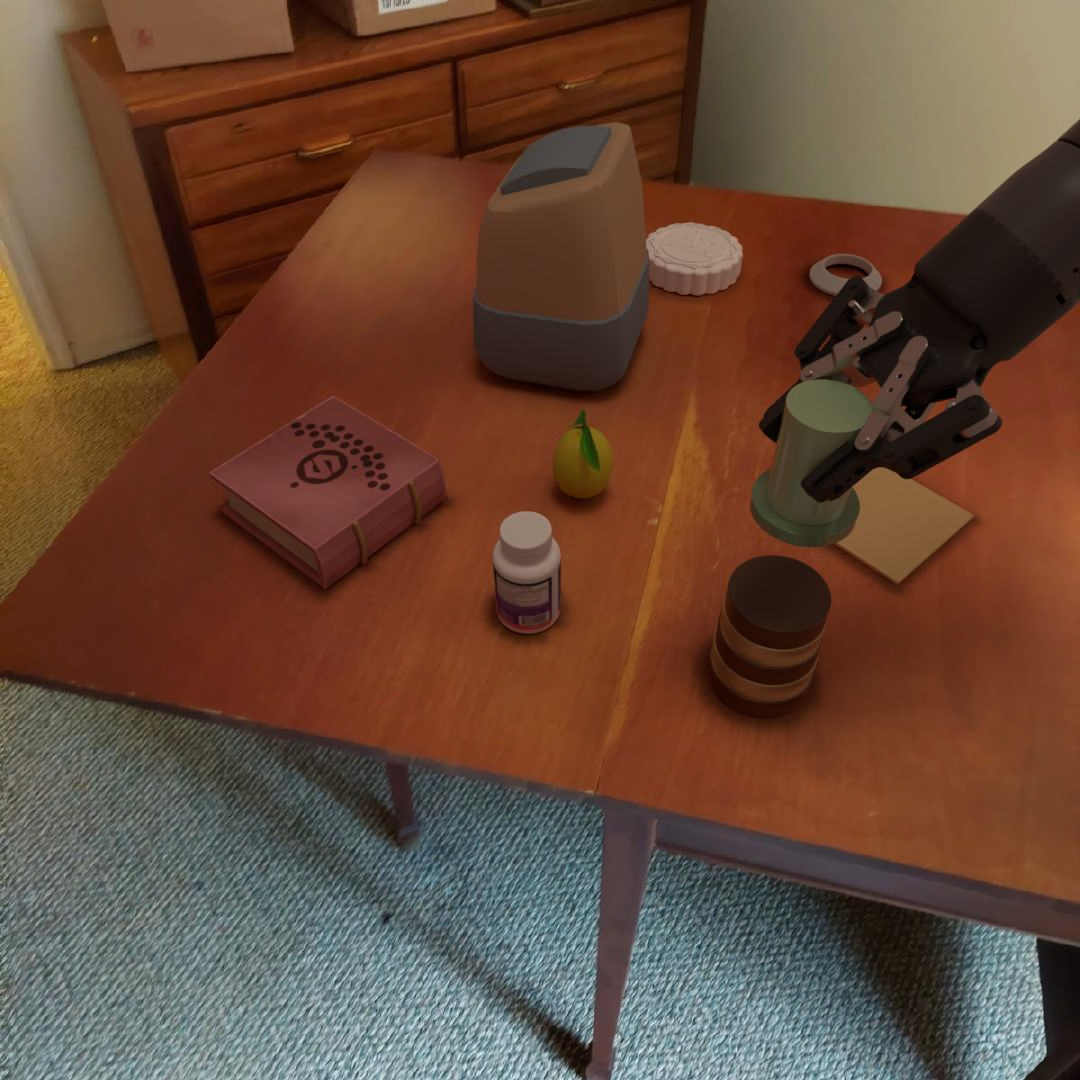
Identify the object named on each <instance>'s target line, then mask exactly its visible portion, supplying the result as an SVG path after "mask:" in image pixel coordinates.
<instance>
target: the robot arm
mask: <svg viewBox="0 0 1080 1080" xmlns="http://www.w3.org/2000/svg"><path fill="white" fill-rule="evenodd" d="M862 278H863V277H862V276H859V275H854V276H852V277H850V278H848V279H849V280H848V281H847V282H846V283H845V285H844V286H843V287H842V289H841V290H840V291H839V292H838V294H837V295H836V296H834V297H833V299H832V300H831V301H830V303H829V304H828V305H827V307H826V308H825V309H824V310H823V311H822V313H821V314H820V315H819V317H818V318H817V319H816V321H815V322H814V323H813V325H812V326H811V327H810V328H809V329H808V331H807V332H806V333H805V335H804V336H803V337H802V338H801V340H800V341H799V342H798V344H797V345H796V346H795V348H794V351H793V352H794V356H795V358H796V359H798V362H799V365H800V370H801V371H800V373H799V378H798V380H797V381H796V382H795V383H794V384H792V386H791V387H790V388H788V389H787V390H786V391H785V392H783V393H782V395H780V397H779V398H777V399H776V400H775V401H774V402H773V403H772V404H771V405H769V407H767V409H766V411H764V414H763V415H762V417H763V418H762V419H761V420H759V422H758V428H759V429H760V431H761V433H762V434H763V435H764V436H765V437H767V438H768V439H770V441H772V442H773V443H775V444H776V443H777V438H778V434H779V429H780V424H781V420H782V415H783V411H784V406H785V401H786V397H787V394H788V393H789V391H790V390H791V389H792V388H793V387H795V386H796V385H798V384H800V383H802V382H805V381H810V380H817V379H826V380H835V381H839V382H843V383H846V384H849V385H851V386H853V387H855V388H865V387H867V386H869V385H872V384H874V383H877V385H878V386H879V387H880V390H879V391H878V393H877V394H876V396H875V398H874V399H873V401H872V402H871V403H872V409H873V410H872V413H871V415H870V416H869V418H868V419H867V421H866V422H865V424H864V425H863V427H862V429H861V430H860V432H859V433H858V435H857V436H856V438H855V441H854V444H853V445H852V444H851V443H850V442H849V441H847V442H845V443H844V444H843V445H842V446H840V447H839V448H838V449H837V450H836V451H835V452H833V453H832V454H831V455H830V456H829V457H828V458H827V459H825V460H824V461H823V462H822V463H821V464H820V465H818V466H817V467H816V468H815V469H814V470H813V471H812V472H810V473H809V474H808V475H807V476H806V477H805V478H803V480H802V481H801V486H802V488H803V489H804V491H805V492H806V493H807V494H808V495H809V496H810V497H812V498H813V499H815V500H816V501H817V502H819V503H822V502H825V501H827V500H829V501H833V500H835V499H838V498H840V497H841V496H842V495H843V494H844V493H845V492H846V491H848V490H849V489H850V488H851V487H852V486H854V485H855V484H856V483H857V482H859V481H860V480H861V479H862V478H863V477H865V476H866V475H867V474H868V473H869V472H871V471H872V470H873V469H875V468H879V467H883V468H887V469H889V470H891V471H893V472H895V473H897V474H898V475H899V476H900V477H902V478H903V479H913V478H915V477H917V476H919V475H921V474H923V473H924V472H926V471H928V470H930V469H932V468H934V467H935V466H937V465H939V464H941V463H943V462H945V461H947V460H948V459H950V458H953V457H954V456H956V455H957V454H959V453H961V452H963V451H964V450H967V449H968V448H970V447H972V446H974V445H976V444H978V443H979V442H981V441H983V440H985V439H986V438H989V437H990V436H993V435H994V434H995V433H997V432H999V430H1000V429H1001V428H1002V425H1003V419H1002V418H1001V416H1000V415H999V414H998V412H997V411H996V410H995V408H994V407H993V406H992V405H991V404H990V403H989V401H988V400H987V398H986V396H985V395H984V392H983V391H982V388H981V387H982V385H983V384H984V382H985V381H986V378H987V376H988V375H989V373H990V371H991V370H992V369H993V368H994V367H995V366H996V365H997V364H999V363H1001V362H1007V361H1010V360H1012V359H1013V358H1014V357H1016V356H1017V355H1018V354H1020V352H1022V351H1023V350H1024V349H1025V348H1026V347H1028V346H1029V345H1030V344H1031V343H1032V342H1034V341H1035V340H1036V339H1037V338H1038V337H1040V336H1041V335H1042V334H1043V333H1044V332H1046V331H1047V330H1049V328H1051V327H1052V326H1053V325H1054V324H1055V323H1057V322H1058V321H1059V320H1060V319H1061V318H1063V317H1064V316H1065V315H1066V314H1067V313H1068V312H1070V311H1071V310H1072V309H1073V308H1074V307H1076V305H1078V304H1080V118H1078V120H1076V121H1075V122H1074V123H1073V124H1072V125H1071V126H1069V128H1067V129H1066V131H1064V132H1063V133H1061V135H1060V136H1059V137H1058V138H1057V140H1056V141H1053V143H1051V144H1050V145H1049V146H1048V147H1046V148H1045V149H1044V150H1043V151H1041V152H1040V153H1039V154H1037V155H1036V156H1034V157H1033V158H1032V159H1030V160H1029V161H1028V162H1026V163H1025V164H1023V165H1022V166H1021V167H1019V168H1018V169H1017V170H1016V171H1014V173H1012V174H1011V175H1010V176H1009V177H1008V178H1006V179H1005V180H1004V181H1003V182H1002V183H1001V184H1000V185H999V186H998V187H997V188H996V189H995V190H993V191H992V192H991V193H990V194H989V195H988V196H987V197H986V198H985V199H984V200H982V201H981V202H980V203H979V204H978V205H977V206H976V207H975V208H974V209H973V210H972V211H970V213H968V214H967V215H966V216H965V217H964V218H963V219H962V220H960V222H958V223H957V224H956V225H955V226H954V227H953V228H952V229H951V230H950V231H949V232H948V233H947V234H946V235H944V237H942V238H941V239H939V241H938V242H936V244H935V245H933V247H931V248H930V249H929V250H928V251H927V252H926V253H925V254H924V255H923V256H922V257H921V258H920V259H919V260H918V261H916V263H915V265H914V267H913V274H912V277H911V278H910V279H909V281H907V282H906V283H905V284H904V285H902V286H900V287H898V288H895V289H893V290H891V291H889V292H887V293H886V294H884V293H882V292H880V291H879V290H878V291H876V290H874V289H872V288H871V287H870V286H869V285H868V284H867V283H866V282H865V281H864V280H863V279H862ZM865 326H868V327H866V328H864V327H865ZM863 328H864V329H863ZM828 338H829V339H828ZM827 339H828V340H827ZM824 343H825V344H824ZM823 344H824V345H823ZM821 347H822V348H821ZM820 348H821V349H820ZM944 401H946V402H945V405H944V406H945V408H944V410H943V411H941V412H940V413H938V414H935V416H933V417H931V418H929V419H927V418H928V417H929V415H930V414H931V412H932V411H933V409H934V408H935V406H936V405H937V403H939V402H944ZM903 407H905V409H904V408H903Z"/></svg>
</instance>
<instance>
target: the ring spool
mask: <svg viewBox="0 0 1080 1080" xmlns="http://www.w3.org/2000/svg"><path fill="white" fill-rule="evenodd" d="M872 403H873V402H872V401H871V399H870V398H869V396H867V394H866V393H864V392H863V391H861V390H860V389H858V387H853V386H851V385H849V384H846V383H843V382H839V381H835V380H826V379H817V380H810V381H805V382H802V383H800V384H798V385H796V386H795V387H793V388H792V389H791V390H790V391H789V393H788V394H787V397H786V401H785V406H784V411H783V415H782V420H781V424H780V429H779V434H778V438H777V443H775V448H774V451H773V452H774V453H773V457H772V461H771V466H770V468H769V469H767V470H765V471H763V472H762V473H761V474H759V476H758V477H757V478H756V479H755V481H754V483H753V485H752V488H751V491H750V496H749V497H750V498H749V510H750V514H751V515H752V518H753V520H754V521H755V523H756V524H757V525H758V527H760V529H762V530H763V531H764V532H765V533H766V534H768V535H770V537H772V538H774V539H776V540H778V541H781V542H783V543H786V544H789V545H791V546H792V545H793V546H795V547H803V548H821V547H823V548H824V547H827V546H831V545H834V544H835V543H837V542H839V541H841V540H843V539H844V538H846V537H847V536H848V535H849V534H850V533H851V532H852V530H853V529H854V527H855V525H856V522H857V519H858V516H859V512H860V502H859V498H858V495H857V494H856V492H855V490H854V489H853V487H851V488H850V489H849V490H848V491H846V492H845V493H844V494H843V495H842V496H841V497H840V498H838V499H835V500H833V501H829V500H827V501H825V502H822V503H819V502H817V501H816V500H815V499H813V498H812V497H810V496H809V495H808V494H807V493H806V492H805V491H804V489H803V488H802V486H801V481H802V480H803V478H805V477H806V476H807V475H808V474H809V473H810V472H812V471H813V470H814V469H815V468H816V467H817V466H818V465H820V464H821V463H822V462H823V461H824V460H825V459H827V458H828V457H829V456H830V455H831V454H832V453H833V452H835V451H836V450H837V449H838V448H839V447H840V446H842V445H843V444H844V443H845V442H847V441H849V442H850V443H851V444H852V445H853V444H854V441H855V438H856V436H857V435H858V433H859V432H860V430H861V429H862V427H863V425H864V424H865V422H866V421H867V419H868V418H869V416H870V415H871V413H872V410H873V409H872Z"/></svg>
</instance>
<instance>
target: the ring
mask: <svg viewBox="0 0 1080 1080" xmlns="http://www.w3.org/2000/svg"><path fill="white" fill-rule="evenodd" d="M833 265H850V266H854V267H857V268H859V269H861V270H863V271H864V272H866V274H868V275H867V276H865V277H862V279H863V280H864V281H865V282H866V283H867V284H868V285H869V286H870V287H871V288H872V289H874V290H876V291H878V292H879V290H880V289H881V287H882V283H883V277H882V275H881V273H880V272H879V270H878V269H877V268H876V267H875V266H874V265H873V263H871V262H870V261H869V260H867V259H866V258H864V257H861V256H858V255H855V254H851V253H836V254H832V255H829V256H827V257H825V258H823V259H821V260H819V261H817V262H815V263H814V264H813V265H812V266H811V267H810V269H809V273H808V274H809V275H808V277H809V280H810V282H811V284H812V285H813V286H814V287H815V288H816V289H817V290H819V291H821V292H823V293H825V294H827V295H829V296H833V297H835V296H836V295H837V294H838V292H839V291H840V290H841V289H842V287H843V286H844V285H845V283H846V282H847V281H848V280H849V279H850V278H846V277H840V276H837V275H835V274H832V273H831V272H830V271H828V270H827V269H826V268H828V267H830V266H833Z"/></svg>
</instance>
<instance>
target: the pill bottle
mask: <svg viewBox="0 0 1080 1080" xmlns="http://www.w3.org/2000/svg"><path fill="white" fill-rule="evenodd" d="M561 554H562V553H561V548H560V546H559V544H558V542H557V541H556V539H555V538H554V537H553V528H552V524H551V522H550V520H549V519H548V518H547V517H546V516H544V515H543V514H541V513H539V512H535V511H527V510H525V511H523V510H522V511H518V512H514V513H512V514H509V515H508V516H507V517H506V518H504V519H503V521H502V522H501V524H500V527H499V539H498V541H497V542H496V544H495V545H494V547H493V551H492V570H493V580H494V581H493V582H494V597H495V609H496V615H497V617H498V619H499V621H500V623H502V625H504V627H506V628H507V629H509V630H510V631H512V632H516V633H519V634H526V635H527V634H528V635H530V634H531V635H532V634H537V633H538V634H539V633H541V632H544V631H546V630H548V629H550V628H551V626H553V625H554V624H555V622H556V621H557V620H558V619H559V616H560V614H561V610H562V609H561V608H562V555H561Z"/></svg>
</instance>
